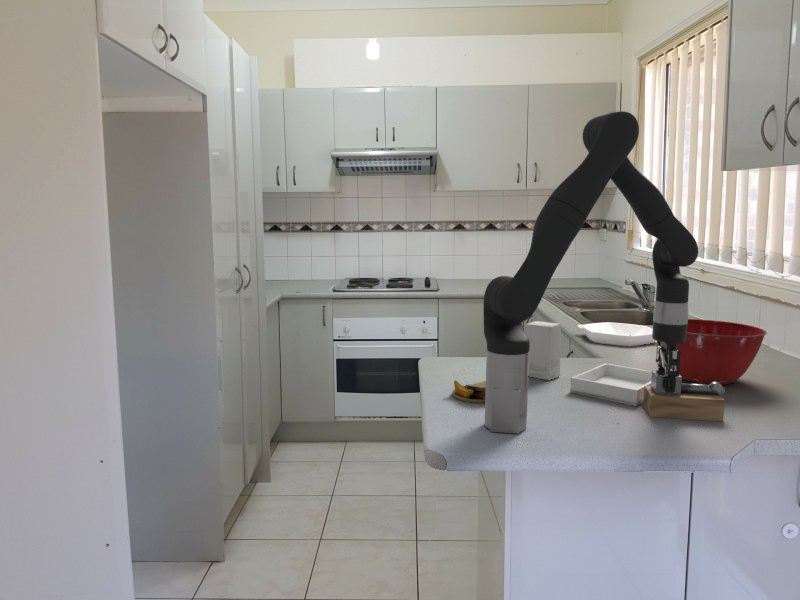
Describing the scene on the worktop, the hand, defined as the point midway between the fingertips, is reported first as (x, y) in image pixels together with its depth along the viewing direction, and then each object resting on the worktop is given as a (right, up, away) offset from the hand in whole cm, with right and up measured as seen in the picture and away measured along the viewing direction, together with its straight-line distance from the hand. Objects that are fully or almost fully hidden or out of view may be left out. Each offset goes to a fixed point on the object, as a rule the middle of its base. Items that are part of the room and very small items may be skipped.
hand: (665, 387), depth 157 cm
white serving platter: (+17, +6, +86) cm, 88 cm away
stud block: (+4, -6, 0) cm, 7 cm away
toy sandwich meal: (-43, -4, +12) cm, 45 cm away
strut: (+5, -1, -1) cm, 5 cm away
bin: (-5, -3, +19) cm, 20 cm away
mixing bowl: (+24, -2, +32) cm, 40 cm away
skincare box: (-23, -1, +32) cm, 39 cm away
